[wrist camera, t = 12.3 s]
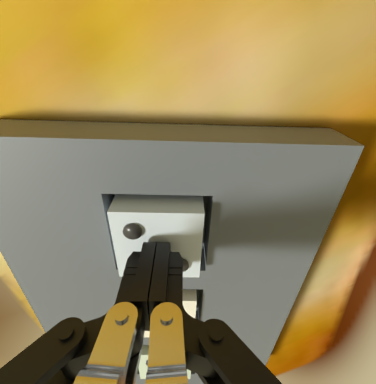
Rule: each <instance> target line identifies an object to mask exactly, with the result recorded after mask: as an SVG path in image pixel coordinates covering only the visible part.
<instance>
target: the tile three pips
mask: <svg viewBox="0 0 376 384" xmlns="http://www.w3.org/2000/svg"><path fill="white" fill-rule="evenodd" d="M107 215H108V220H109V225H110V230H111V236H112V241H113V246H114V251H115V256H116V262H117V267H118V272H119V277H122V276H123V273H124V269H125V266H126V262H127V259H128V257H129V256H130V255H131V254H132V252H133V251H138V252H141V249H142V245H143V242H170V251H171V252H179V253H180V254H181V256H182V258H183V277H198V278H199V276H200V264H201V252H202V240H203V228H204V217H205V212H204V203H203V196H190V195H140V194H116V195H115V197H114V199H113V201H112V203H111V205H110V207H109V209H108V211H107Z"/></svg>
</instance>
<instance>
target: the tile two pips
mask: <svg viewBox="0 0 376 384" xmlns="http://www.w3.org/2000/svg"><path fill="white" fill-rule="evenodd" d="M142 346H143V348H142V353H141V358H140V363H139V367H138V368H139V373H140V379H146V373H147V369H148V354H149V345H142ZM190 377H191V371H190V370H188V369H187V378H188V379H190Z"/></svg>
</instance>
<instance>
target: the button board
mask: <svg viewBox="0 0 376 384" xmlns="http://www.w3.org/2000/svg"><path fill="white" fill-rule="evenodd" d="M364 147H365V146H364V145H362V144H360V143H358V142H356V141H354V140H353V139H351V138H349V137H347V136H345V135H343V134H341V133H339V132H337V131H335V130H334V129H332V128H309V127H272V126H236V125H199V124H162V123H125V122H89V121H52V120H15V119H0V251H1V253H2V255H3V257H4V259H5V260H6V262H7V264H8V266H9V268H10V269H11V271H12V273H13V275H14V277H15V278H16V280H17V282H18V284H19V286H20V287H21V289H22V291H23V293H24V295H25V296H26V298H27V300H28V302H29V304H30V306H31V307H32V309H33V311H34V313H35V315H36V316H37V318H38V320H39V322H40V324H41V325H42V327H43V329H44V331H45V333H46V332H47V331H49V330H50V329H51V328H52V327H54V326H55V325H56V324H57V323H59V322H60V321H62V320H64V319H66V318H70V317H77V318H80V319H81V320H82V321H83V322H87V321H90V320H93V319H96V318H99V317H101V316H103V315H105V314H106V313H107V312H108V311H109V309H110V308H111V307H113V306H114V304H115V301H116V298H117V294H118V290H119V287H120V283H121V280H122V277H119V272H118V267H117V262H116V256H115V251H114V246H113V241H112V236H111V230H110V225H109V220H108V215H107V211H108V209H109V207H110V205H111V203H112V201H113V199H114V197H115V195H116V194H140V195H190V196H203V203H204V212H205V217H204V228H203V240H202V252H201V264H200V276H199V278H198V277H183V289H196V295H197V304H196V316H195V319H198V320H201V321H203V322H205V321H206V320H209V319H219V320H222V321H224V322H225V323H226V324H227V325H228V326H229V327H230V328H231V329H232V330H233V331H234V332H235V333H236V335H237V336H238V337H239V338H240V339H241V340H242V341H243V342H244V343H245V344H246V345H247V346H248V348H249V349H250V350H251V351H252V352H253V353H254V354H255V355H256V356H257V357H258V358H259V360H260V361H261V362H262V363H263V364H264V365H265V366H266V363H267V361H268V359H269V357H270V355H271V352H272V350H273V348H274V346H275V344H276V341H277V339H278V337H279V335H280V333H281V330H282V328H283V326H284V324H285V321H286V319H287V317H288V315H289V313H290V310H291V308H292V306H293V304H294V302H295V299H296V297H297V295H298V293H299V290H300V288H301V286H302V284H303V282H304V279H305V277H306V275H307V273H308V271H309V268H310V266H311V264H312V262H313V259H314V257H315V255H316V253H317V251H318V248H319V246H320V244H321V242H322V240H323V237H324V235H325V233H326V231H327V228H328V226H329V224H330V222H331V220H332V217H333V215H334V213H335V211H336V209H337V206H338V204H339V202H340V200H341V197H342V195H343V193H344V191H345V189H346V186H347V184H348V182H349V180H350V178H351V175H352V173H353V171H354V169H355V166H356V164H357V162H358V160H359V158H360V155H361V153H362V151H363V149H364ZM143 345H149V337H144V339H143ZM145 382H146V379H140V373H139V368H138V372H137V377H136V381H135V384H145ZM188 384H204V383H203V382H202V381H201V379H200V378H199V376H198V374H197V373H195V372H192V371H191V377H190V379H188Z"/></svg>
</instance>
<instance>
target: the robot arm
mask: <svg viewBox="0 0 376 384" xmlns="http://www.w3.org/2000/svg"><path fill="white" fill-rule="evenodd" d="M182 300H183V258H182V256H181V254H180V253H179V252H171V251H170V242H143V245H142V249H141V252H138V251H133V252H132V254H131V255H130V256H129V257H128V259H127V262H126V266H125V269H124V273H123V276H122V280H121V283H120V287H119V290H118V294H117V298H116V301H115V304H114V306H113V307H111V308H110V309H109V311H108V312H107V313H106V314H105V315H103V316H101V317H99V318H96V319H93V320H90V321H87V322H83V321H82V320H81V319H80V318H77V317H70V318H66V319H64V320H62V321H60V322H59V323H57V324H56V325H55V326H54V327H52V328H51V329H50V330H49V331H47V332H46V333H45V334H44V335H42V336H41V337H40V338H38V339H37V340H36V341H35V342H33V343H32V344H31V345H30V346H28V347H27V348H26V349H25V350H23V351H22V352H21V353H20V354H18V355H17V356H16V357H14V358H13V359H12V360H11V361H9V362H8V363H7V364H6V365H4V366H3V367H2V368H1V369H0V384H135V381H136V377H137V372H138V367H139V363H140V358H141V353H142V348H143V346H142V345H143V339H144V332H145V331H150V336H149V354H148V369H147V373H146V382H145V384H188V378H187V369H188V370H190V371H192V372H195V373H197V374H198V376H199V378H200V379H201V381H202V382H203V383H204V384H281V382H280V381H279V380H278V379H277V378H276V377H275V376H274V375H273V374H272V373H271V371H270V370H269V369H268V368H267V367H266V366H265V365H264V364H263V363H262V362H261V361H260V360H259V358H258V357H257V356H256V355H255V354H254V353H253V352H252V351H251V350H250V349H249V348H248V346H247V345H246V344H245V343H244V342H243V341H242V340H241V339H240V338H239V337H238V336H237V335H236V333H235V332H234V331H233V330H232V329H231V328H230V327H229V326H228V325H227V324H226V323H225V322H224V321H222V320H219V319H209V320H206V321H205V322H203V321H201V320H198V319H195V318H193V317H191V316H190V315H189V314H188V313H187V312H186V311H185V309H184V307H183V301H182Z"/></svg>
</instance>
